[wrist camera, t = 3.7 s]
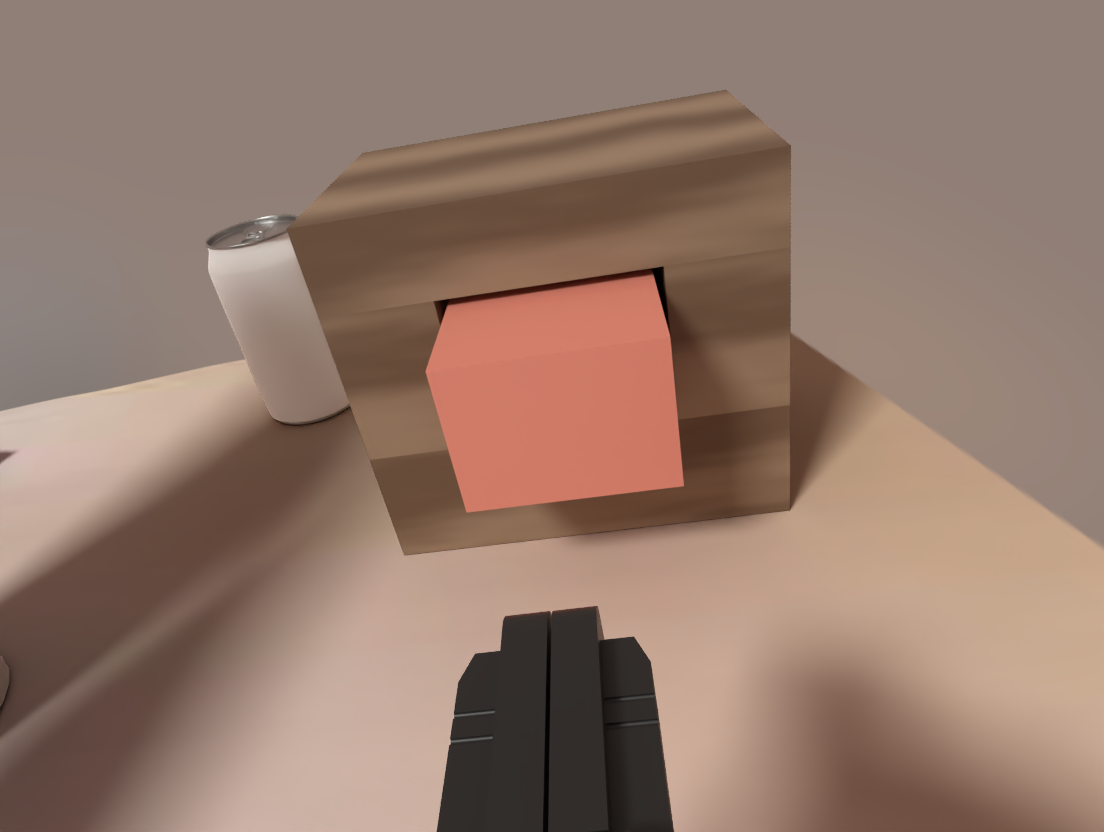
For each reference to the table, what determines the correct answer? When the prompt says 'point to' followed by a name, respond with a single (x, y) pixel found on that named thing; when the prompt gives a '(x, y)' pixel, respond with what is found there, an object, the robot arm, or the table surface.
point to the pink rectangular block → (558, 392)
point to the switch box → (557, 256)
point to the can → (275, 320)
